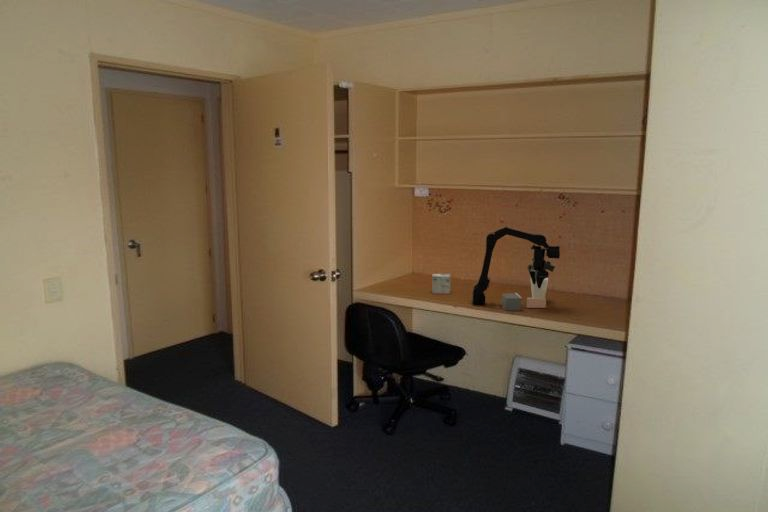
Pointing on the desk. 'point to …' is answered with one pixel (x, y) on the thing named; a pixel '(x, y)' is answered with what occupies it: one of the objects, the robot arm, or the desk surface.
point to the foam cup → (539, 289)
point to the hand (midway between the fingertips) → (536, 286)
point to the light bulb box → (441, 283)
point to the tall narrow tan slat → (536, 303)
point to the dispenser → (511, 302)
